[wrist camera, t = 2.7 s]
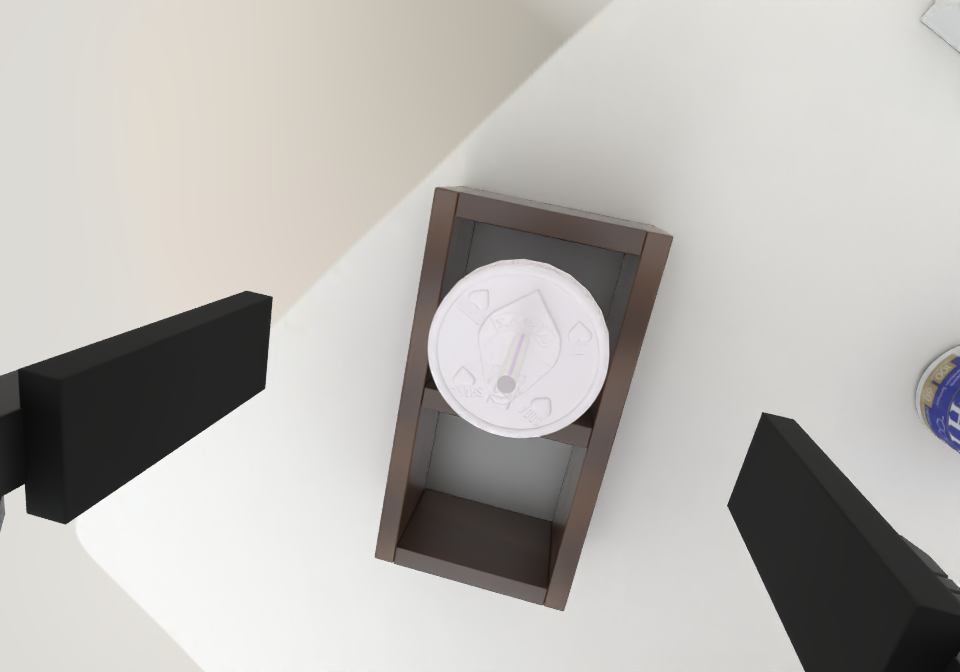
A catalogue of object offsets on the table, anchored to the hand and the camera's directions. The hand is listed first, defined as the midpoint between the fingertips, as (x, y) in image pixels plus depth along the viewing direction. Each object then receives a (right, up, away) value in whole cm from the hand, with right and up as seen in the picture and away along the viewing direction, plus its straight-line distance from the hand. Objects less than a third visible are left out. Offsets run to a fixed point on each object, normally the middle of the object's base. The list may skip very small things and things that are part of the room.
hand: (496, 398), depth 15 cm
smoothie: (+2, +4, +14) cm, 15 cm away
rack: (+2, 0, +15) cm, 15 cm away
